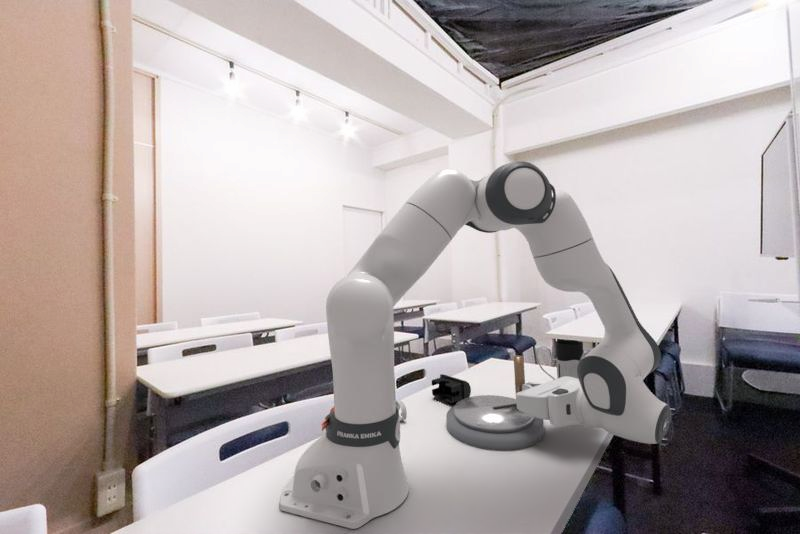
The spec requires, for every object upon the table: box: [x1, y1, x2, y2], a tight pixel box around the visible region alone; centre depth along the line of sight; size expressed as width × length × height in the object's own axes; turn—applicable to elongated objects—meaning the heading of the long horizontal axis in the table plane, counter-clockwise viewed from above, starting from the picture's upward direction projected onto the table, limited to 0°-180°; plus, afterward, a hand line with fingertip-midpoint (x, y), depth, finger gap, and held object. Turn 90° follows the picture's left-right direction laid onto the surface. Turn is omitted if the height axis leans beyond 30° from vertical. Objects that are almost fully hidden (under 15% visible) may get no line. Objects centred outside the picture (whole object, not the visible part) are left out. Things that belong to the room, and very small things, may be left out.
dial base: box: [446, 406, 545, 451], centre depth 85 cm, size 23×23×3 cm
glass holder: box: [535, 339, 585, 380], centre depth 107 cm, size 9×14×15 cm, turn 75°
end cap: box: [431, 373, 472, 408], centre depth 104 cm, size 10×7×7 cm
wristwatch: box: [396, 399, 408, 422], centre depth 91 cm, size 3×5×5 cm, turn 29°
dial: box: [454, 355, 534, 433], centre depth 85 cm, size 19×19×14 cm
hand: (525, 386), depth 86 cm, fingers closed, pressing on dial
